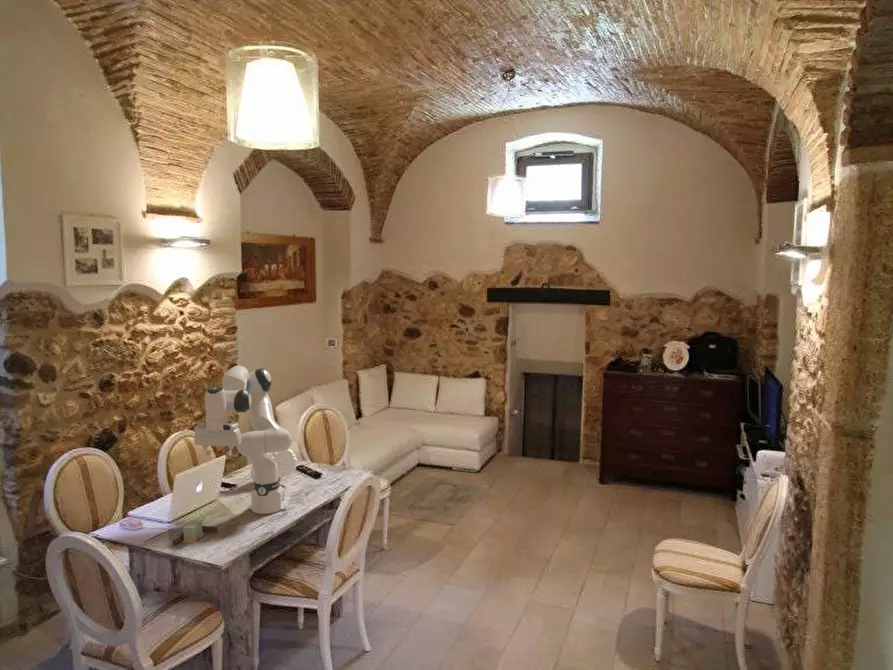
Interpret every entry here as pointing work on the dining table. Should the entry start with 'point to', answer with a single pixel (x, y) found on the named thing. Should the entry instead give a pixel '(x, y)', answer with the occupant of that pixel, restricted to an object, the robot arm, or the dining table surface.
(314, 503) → the dining table surface
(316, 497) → the dining table surface
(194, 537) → the sage block
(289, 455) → the decorative rooster
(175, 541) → the brown flat wooden frame
